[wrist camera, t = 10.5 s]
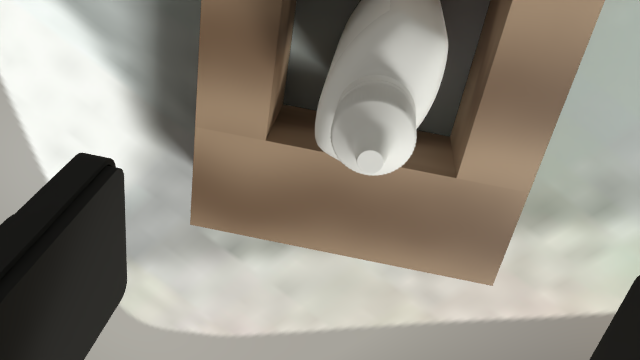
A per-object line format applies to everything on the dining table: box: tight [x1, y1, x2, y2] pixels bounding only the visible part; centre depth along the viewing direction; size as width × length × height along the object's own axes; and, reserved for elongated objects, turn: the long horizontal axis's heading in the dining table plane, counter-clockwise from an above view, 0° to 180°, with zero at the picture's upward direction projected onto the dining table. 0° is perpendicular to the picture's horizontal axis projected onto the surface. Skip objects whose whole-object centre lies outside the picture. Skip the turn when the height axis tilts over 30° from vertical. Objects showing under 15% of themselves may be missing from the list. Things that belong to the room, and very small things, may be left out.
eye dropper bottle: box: [315, 0, 448, 176], centre depth 20 cm, size 4×6×12 cm
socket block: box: [190, 0, 605, 286], centre depth 24 cm, size 18×14×4 cm
